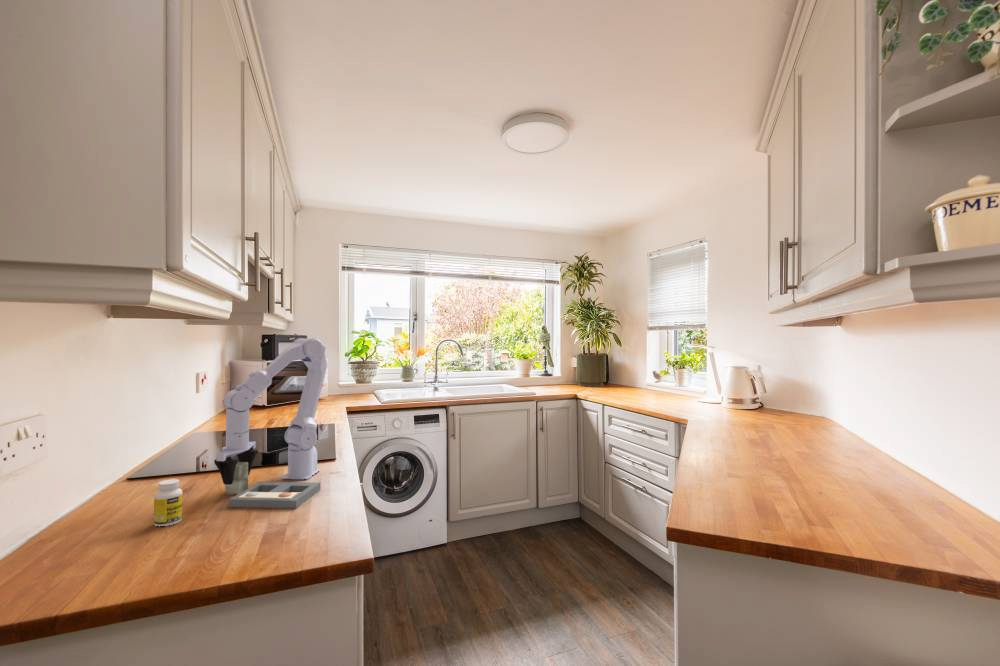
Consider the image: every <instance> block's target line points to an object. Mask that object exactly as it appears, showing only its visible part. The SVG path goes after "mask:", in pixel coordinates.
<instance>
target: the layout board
mask: <svg viewBox="0 0 1000 666" xmlns="http://www.w3.org/2000/svg"><path fill="white" fill-rule="evenodd" d="M321 487H322V485H321V482H306V481H305V482H303V481H302V482H300V481H299V482H298V481H297V482H295V481H291V482H289V481H258V482H257V483H256V484H253V485H252V486H249V487H248V489H246V490H244V491H243V492H241V493H239V494H237V495H234V496H232V497H230V498H229V499H228V508H253V509H254V508H255V509H256V508H257V509H259V508H262V509H263V508H264V509H266V508H267V509H268V508H269V509H297V508H299V507H300V506H301V505H302V503H303V504H304V503H305V502H306V501H309V499H310V498H312V497H313V496H314V495H316V494H317V493H318V492H319V491H321ZM291 492H301V493H291ZM315 493H316V494H315ZM298 506H299V507H298Z"/></svg>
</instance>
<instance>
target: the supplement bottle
mask: <svg viewBox="0 0 1000 666" xmlns="http://www.w3.org/2000/svg"><path fill="white" fill-rule="evenodd" d="M158 490H159V491H157V492H155V494H154V498H153V499H154V502H153V525H154V526H155V527H157V526H159V527H158V528H161V527H160V526H165V527H170V526H173V524H174V525H176V524H179V523H180V522H181V521H182V519H183V495H184V492H183V489H181V488H180V479H177V478H173V479H172V478H171V479H165V480H162V481H160V482H158ZM169 525H170V526H169Z"/></svg>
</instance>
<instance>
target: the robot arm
mask: <svg viewBox="0 0 1000 666" xmlns="http://www.w3.org/2000/svg"><path fill="white" fill-rule="evenodd" d="M326 349H327V348H326V346H325V345H324V343H323V342H322V341H321V340H320V339H318V338H317V337H316V338H314V337H312V338H304V337H299V338H296V339H294V340H293V341H292V343H289V344H288V345H287V346H286V347H285V348H284V350H283V351H281V352H280V353H279V354H278V355H277V356H276V357H275V359H273V360H272V361H271V362H270V363H269V364H268V365H267V366H266V367H265V368H264V369H263V370H256V371H251V372H250V373H249V374H248V377H247V378H246V379H245V380H244V381H243V382H241V383H240V384H237V385H236V386H235V388H236V389H233V390H229V391H228V392H227V393H226V394H225V395H224V398H223V399H222V405H223V407H224V408H225V409H226V410H225V411H226V417H225V446H223V447H222V448H221V451H220V452H219V453H216V458H215V459H214V465H215V466H216V467H217V469H218V471H219V473H220V476H221V480H222V483H223V485H225V486H226V485H231V484H232V483H233V478H234V470H235V467H236V464H237V462H248V477H249V475H250V473H251V469H252V466H253V463H254V461H255V458H256V457H257V455H258V453H259V450H258V449H256V448H257V447H256V445H257V444H256V441H250V409H251V408H252V407H253V405H254V402H255V401H254V400H255V399H256V398H258V397H259V396H260V395H261V394H262V393H264V391H266V390H267V388H269V387H270V386H271V385H272V381H273V377H275V376H276V375H277V374H278V373H279V372H281V371H282V370H284V368H286V367H287V366H288V365H290V364H291V363H292V362H293V361H299V360H300V361H302V363H304V365H305V366H306V368H307V372H306V377H305V381H304V383H303V389H302V391H301V392H302V393H301V397H300V400H299V403H298V404H299V405H298V408H297V412H296V415H295V417H294V418H293V419H291V421H290V424H289V426H288V428H287V430H286V431H285V432H284V440H285V442H286V443H287V444H288V448H287V452H288V453H287V459H288V460H287V474H286V475H284V476H282V478H281V479H282V480H304V479H306V480H308V479H310V478H311V477H313V476H314V475H315V473H316V474H317V473H319V472H320V471H321V469H319V468H318V450H317V448H316V447H315V444H316V443H317V441H318V433H317V429H318V424H317V423H316V420H315V417H316V412H317V408H318V405H319V400H320V398H321V397H320V396H321V392H322V387H323V384H324V379H325V375H326V372H327V367H328V364H327V362H328V361H327V358H326ZM235 456H237V459H233V457H235ZM318 471H319V472H318ZM312 475H313V476H312Z"/></svg>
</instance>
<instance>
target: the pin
mask: <svg viewBox="0 0 1000 666" xmlns="http://www.w3.org/2000/svg"><path fill="white" fill-rule="evenodd" d="M224 487H225V489H224V490H225V492H224V493H225V495H233V494H239V493H241V492H243V491H244V490H246V489H248V488H249V476H248V462H239V461H238V462H237V464H236V467H235V470H234V478H233V483H232V484H231V485H225V486H224Z"/></svg>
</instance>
